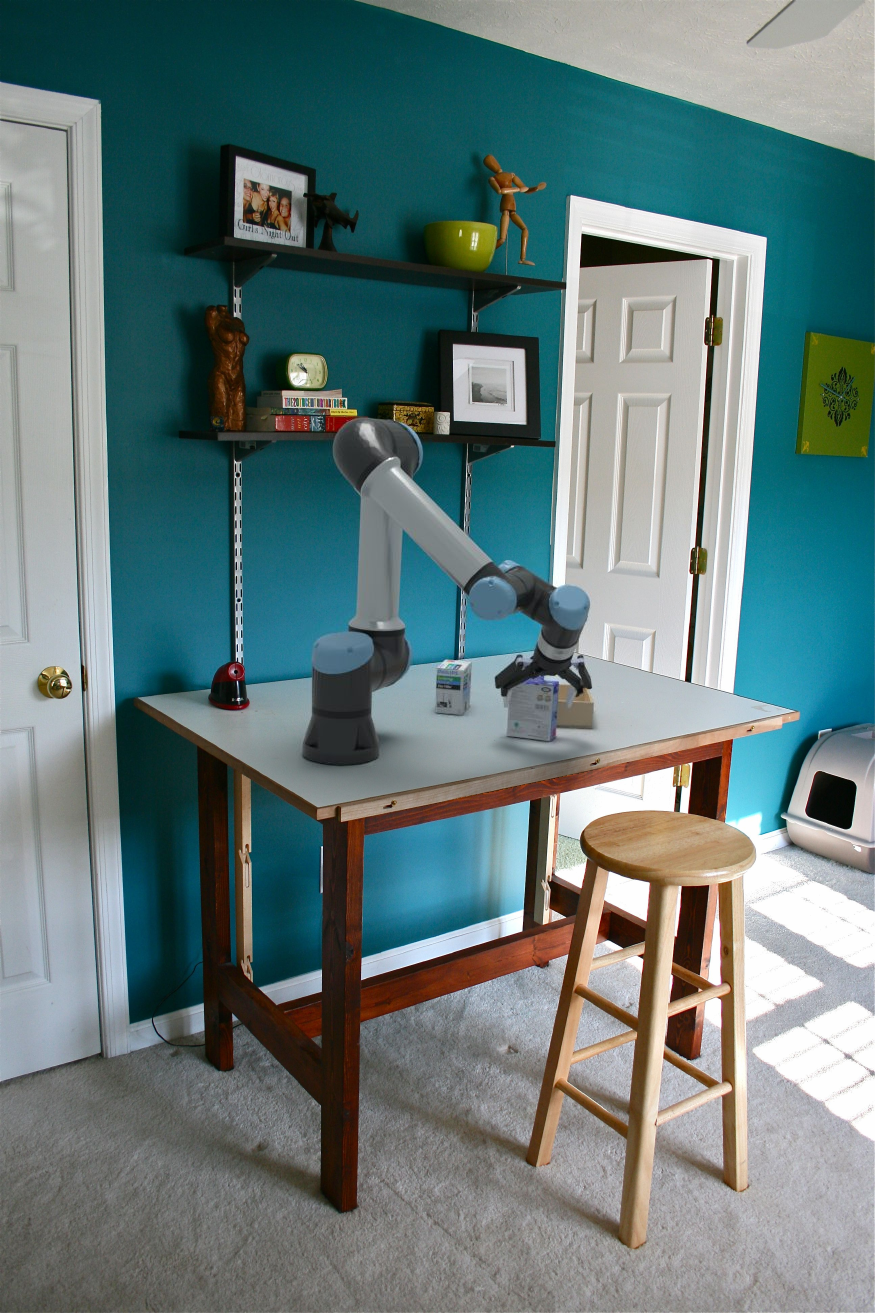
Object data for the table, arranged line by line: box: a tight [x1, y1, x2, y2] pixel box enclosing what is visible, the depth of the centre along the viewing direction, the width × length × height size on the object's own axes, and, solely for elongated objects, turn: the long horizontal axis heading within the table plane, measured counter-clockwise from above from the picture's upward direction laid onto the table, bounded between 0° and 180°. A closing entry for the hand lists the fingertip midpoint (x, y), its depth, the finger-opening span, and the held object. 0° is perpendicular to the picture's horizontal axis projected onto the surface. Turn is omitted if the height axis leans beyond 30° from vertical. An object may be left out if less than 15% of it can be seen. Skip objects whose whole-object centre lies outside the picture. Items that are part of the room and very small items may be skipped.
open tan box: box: [556, 683, 595, 730], centre depth 239 cm, size 15×39×6 cm, turn 176°
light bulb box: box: [434, 659, 473, 716], centre depth 232 cm, size 11×7×11 cm, turn 168°
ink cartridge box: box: [506, 671, 560, 742], centre depth 211 cm, size 10×6×14 cm, turn 71°
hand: (536, 702), depth 211 cm, fingers open, 13 cm apart
